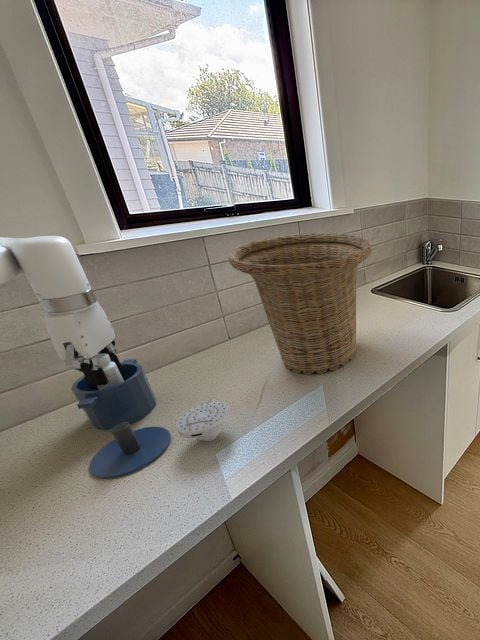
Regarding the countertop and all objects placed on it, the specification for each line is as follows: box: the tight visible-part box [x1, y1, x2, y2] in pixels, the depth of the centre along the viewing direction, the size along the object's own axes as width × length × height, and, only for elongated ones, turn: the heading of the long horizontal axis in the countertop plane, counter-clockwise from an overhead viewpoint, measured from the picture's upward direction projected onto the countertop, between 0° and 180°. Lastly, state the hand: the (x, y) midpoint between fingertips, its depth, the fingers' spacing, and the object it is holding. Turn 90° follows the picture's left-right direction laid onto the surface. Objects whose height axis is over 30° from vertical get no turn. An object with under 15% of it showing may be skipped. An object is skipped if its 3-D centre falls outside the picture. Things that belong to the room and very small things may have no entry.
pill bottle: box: [86, 353, 124, 390], centre depth 73 cm, size 4×4×8 cm
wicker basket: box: [227, 232, 372, 376], centre depth 94 cm, size 35×35×33 cm
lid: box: [89, 422, 172, 479], centre depth 66 cm, size 13×13×7 cm
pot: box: [71, 358, 157, 431], centre depth 76 cm, size 12×17×10 cm
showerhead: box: [175, 397, 232, 442], centre depth 70 cm, size 9×7×10 cm
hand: (106, 376), depth 73 cm, fingers closed on pill bottle, 4 cm apart
